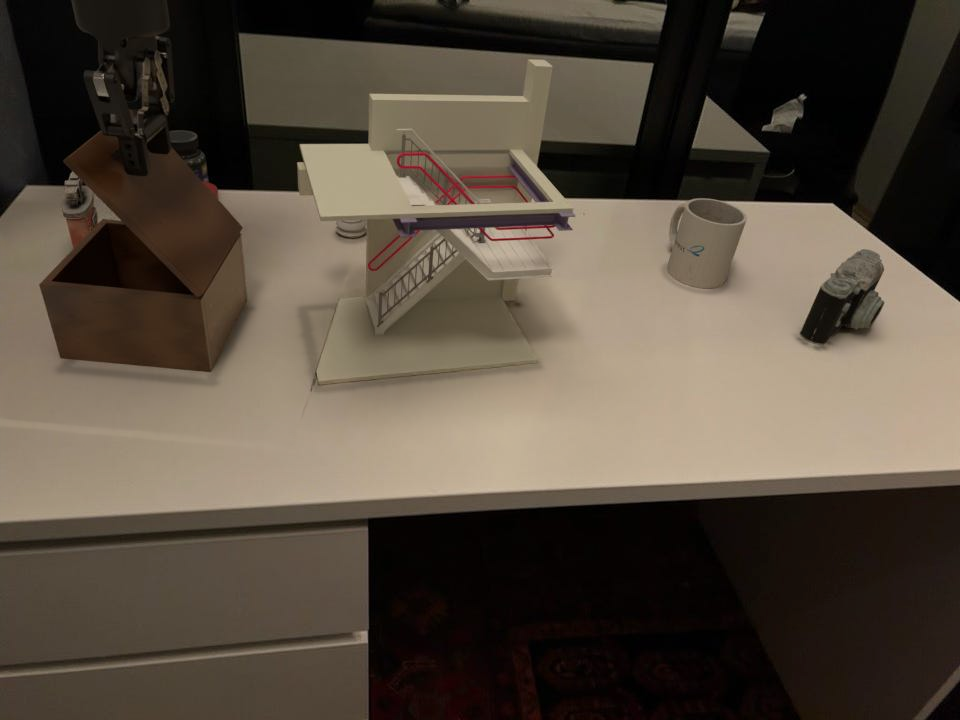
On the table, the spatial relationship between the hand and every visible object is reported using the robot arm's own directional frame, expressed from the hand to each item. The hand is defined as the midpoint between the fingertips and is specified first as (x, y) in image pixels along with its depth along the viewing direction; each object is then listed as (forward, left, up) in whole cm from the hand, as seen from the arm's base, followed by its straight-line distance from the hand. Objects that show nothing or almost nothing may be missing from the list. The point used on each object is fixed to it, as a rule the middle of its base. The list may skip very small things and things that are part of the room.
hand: (149, 162), depth 72 cm
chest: (-2, 0, -21) cm, 21 cm away
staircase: (+28, +4, -21) cm, 35 cm away
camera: (+84, +16, -21) cm, 88 cm away
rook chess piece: (+15, +29, -21) cm, 39 cm away
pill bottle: (-9, +31, -21) cm, 38 cm away
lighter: (-17, +16, -21) cm, 31 cm away
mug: (+66, +29, -21) cm, 75 cm away
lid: (+1, 0, -4) cm, 4 cm away
